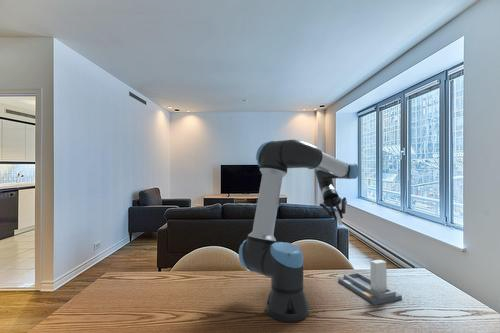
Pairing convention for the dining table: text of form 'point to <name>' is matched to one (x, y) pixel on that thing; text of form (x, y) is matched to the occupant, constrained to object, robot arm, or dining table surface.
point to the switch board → (367, 288)
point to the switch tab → (378, 276)
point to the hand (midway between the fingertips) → (340, 222)
